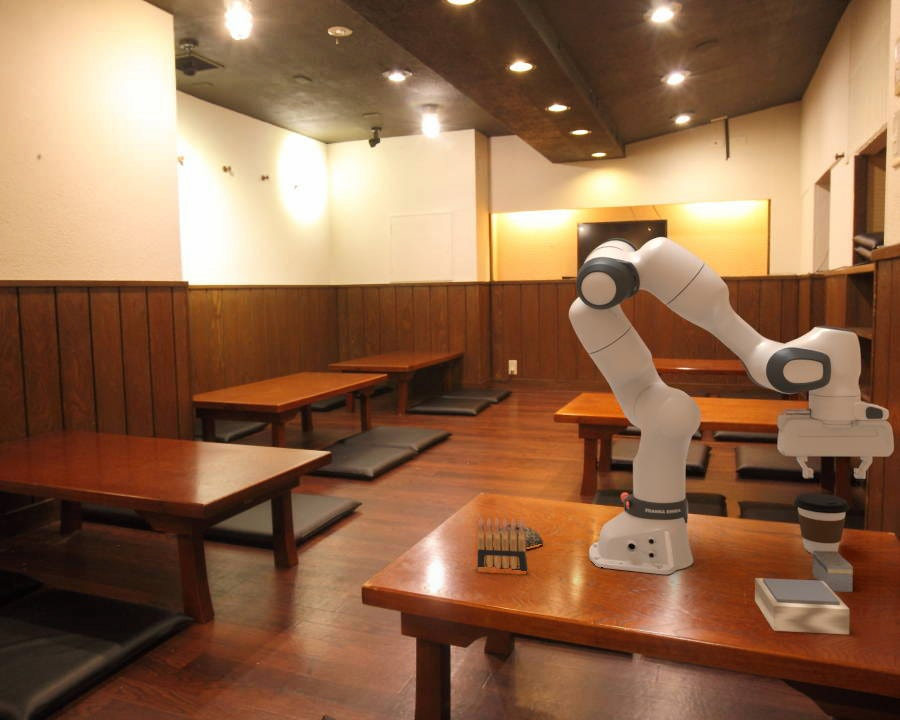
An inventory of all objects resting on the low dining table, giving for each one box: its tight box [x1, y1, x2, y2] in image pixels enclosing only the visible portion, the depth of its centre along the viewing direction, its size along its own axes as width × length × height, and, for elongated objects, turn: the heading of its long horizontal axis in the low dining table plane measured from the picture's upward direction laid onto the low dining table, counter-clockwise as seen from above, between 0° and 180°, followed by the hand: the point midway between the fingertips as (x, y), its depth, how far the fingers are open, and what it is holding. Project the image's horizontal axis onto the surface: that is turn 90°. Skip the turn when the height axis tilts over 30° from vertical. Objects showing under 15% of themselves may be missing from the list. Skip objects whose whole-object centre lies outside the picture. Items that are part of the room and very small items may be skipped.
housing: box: [812, 551, 854, 593], centre depth 135 cm, size 4×8×5 cm, turn 170°
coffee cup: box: [794, 492, 850, 555], centre depth 152 cm, size 11×11×12 cm
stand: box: [754, 577, 850, 635], centre depth 121 cm, size 12×12×5 cm
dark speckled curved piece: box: [492, 523, 544, 548], centre depth 163 cm, size 13×12×5 cm
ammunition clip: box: [476, 516, 528, 571], centre depth 146 cm, size 11×2×12 cm, turn 79°
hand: (833, 477), depth 134 cm, fingers open, 8 cm apart
